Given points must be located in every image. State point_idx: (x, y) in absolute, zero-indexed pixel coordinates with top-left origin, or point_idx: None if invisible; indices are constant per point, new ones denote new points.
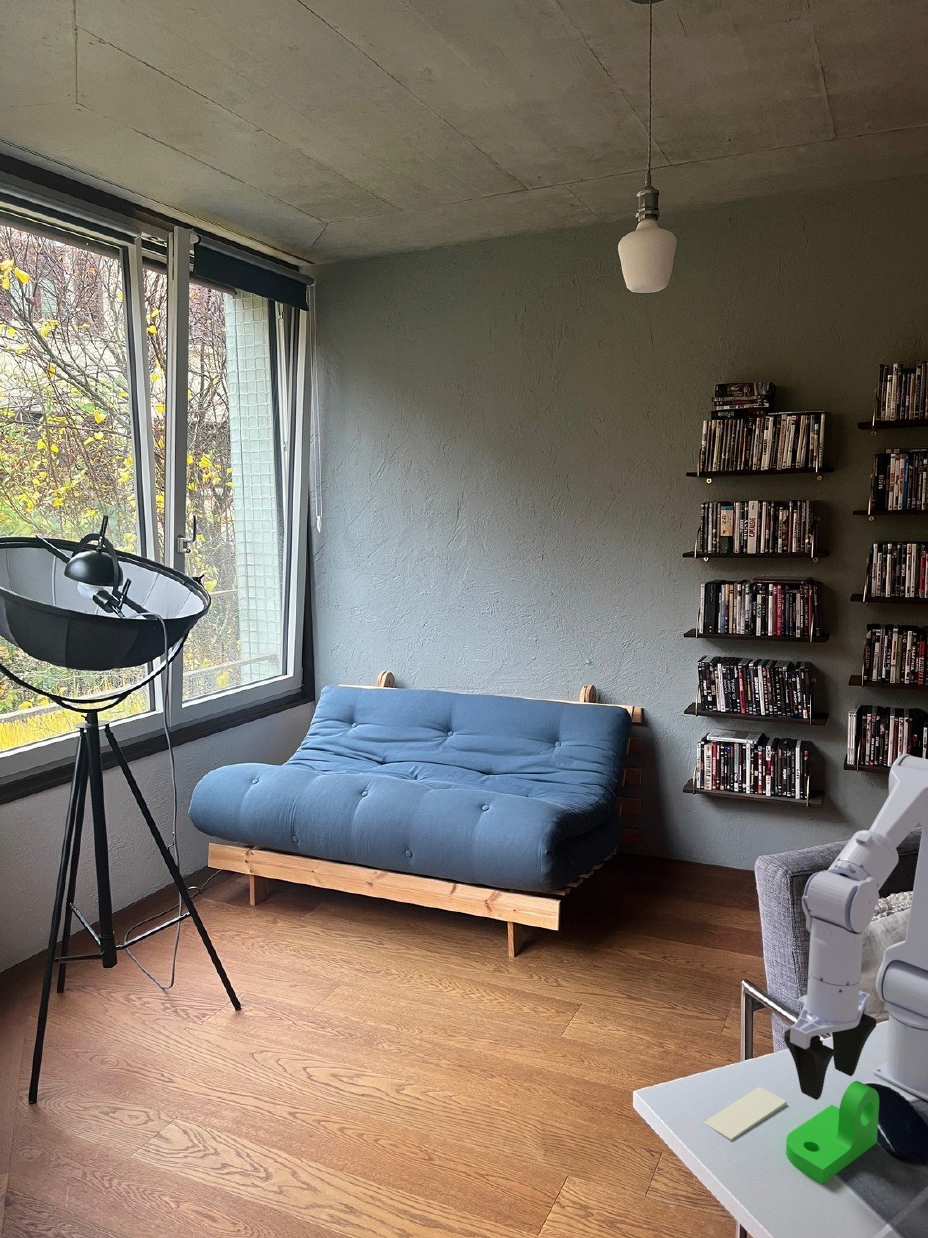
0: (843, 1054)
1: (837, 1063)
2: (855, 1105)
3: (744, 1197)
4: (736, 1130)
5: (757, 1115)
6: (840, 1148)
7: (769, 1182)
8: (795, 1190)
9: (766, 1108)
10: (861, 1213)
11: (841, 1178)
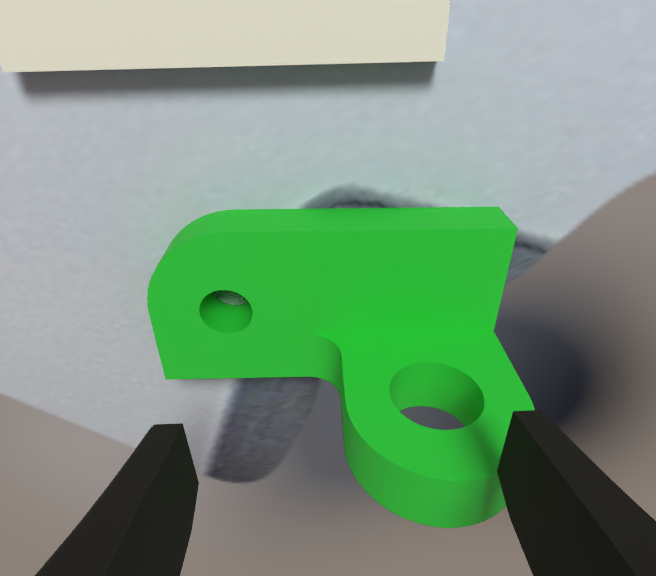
0: (557, 539)
1: (525, 453)
2: (364, 485)
3: None
4: (66, 49)
5: (240, 39)
6: (298, 362)
7: (35, 268)
8: (88, 324)
9: (319, 33)
10: None
11: None
